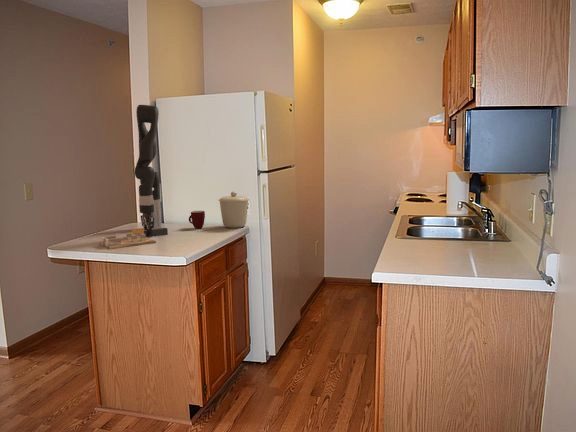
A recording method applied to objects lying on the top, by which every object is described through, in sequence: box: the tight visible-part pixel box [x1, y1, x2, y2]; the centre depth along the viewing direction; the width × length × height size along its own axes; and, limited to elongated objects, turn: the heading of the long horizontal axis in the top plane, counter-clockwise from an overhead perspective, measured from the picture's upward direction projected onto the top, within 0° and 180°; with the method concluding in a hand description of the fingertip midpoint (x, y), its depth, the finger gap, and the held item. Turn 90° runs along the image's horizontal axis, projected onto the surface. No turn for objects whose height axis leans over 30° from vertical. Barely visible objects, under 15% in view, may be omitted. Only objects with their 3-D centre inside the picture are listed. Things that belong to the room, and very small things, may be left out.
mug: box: [188, 210, 206, 230], centre depth 295 cm, size 10×8×10 cm
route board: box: [99, 232, 157, 250], centre depth 253 cm, size 16×23×4 cm
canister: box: [218, 191, 250, 229], centre depth 298 cm, size 18×18×21 cm
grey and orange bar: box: [131, 227, 169, 238], centre depth 272 cm, size 18×5×5 cm, turn 127°
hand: (148, 235), depth 272 cm, fingers open, 4 cm apart
